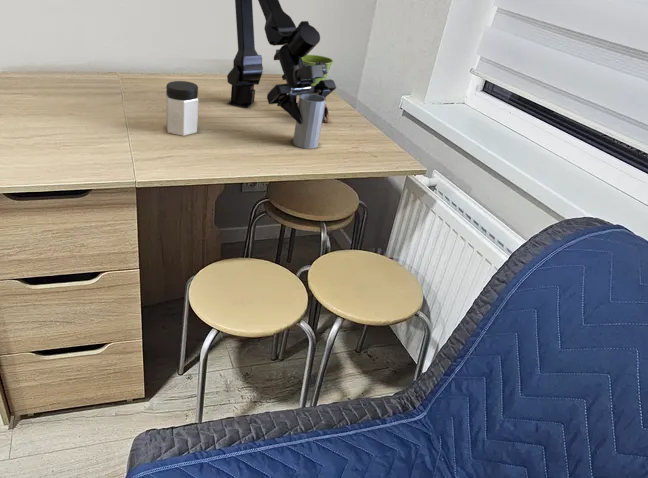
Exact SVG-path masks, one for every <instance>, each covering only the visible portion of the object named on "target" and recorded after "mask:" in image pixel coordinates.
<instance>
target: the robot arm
mask: <svg viewBox="0 0 648 478" xmlns="http://www.w3.org/2000/svg"><path fill="white" fill-rule="evenodd" d="M257 1H258V4H259V6H260V8H261V11H262V13H263V17H264V19H265V24H264V32H265V37H266V39H267V40H266V41H267V42H268V44H269V45H270V46H274V47H276V46H281V47H280V48H279V49H278V48H277V49H276V50H275V53H274V56H273V61H279V64H280V66H281V70H282V72H283V74H282V75H281V79H282V81H286V83H280V84H275V85H274V87H273V88H271V90H269V91H268V92H267V94H266V100H267V102H268V105H276V106H277V107H279V108H281V109H283V110H284V111H285V112H286V113H287V114H288V115H290V116H291V118H292V119H294V120H295V122H296V121H297V122H298V123H299V124H301V123H302V117H301V114H300V111H299V108H298V105H297V102H298V101H297V100H298V99H297V98H298V97H297V96H300V95H301V94H316V95H320V96H323V97H324V98H325V99H326V98H327V97H328V96H329V95H330V94H331V93H333V92H334V91H335V90H336V89H337V86H336V85H337V84H336V82H335V81H334V80H333V79H331V78H330V79H326V80H321V81H320V82H319V83H317V84H316V85H315V86H311V84H313V83H314V82H316V80H315V79H317V78H323V77H324V76H323V75H324V74H327V72H328V73H329V71H328V69H327V65H326V63H325V61H323V62H319V63H316V65H311V66H309V65H308V64H304V63H303V60H302V57H305V56H306V55H309V53H310V52H311V51H312V50H313V49H314V48H315V47H316V46H318V44H319V43H320V40H321V34H320V32H319V31H318V30H317V28H315V27H314V26H312V25H311V24H310V23H309V21H308V20H301V21H300V22H299V24H298V26H296V24H295V22H294V20H293V18H292V17H291V16H290V15H289V14H288V13H286V12H285V11H284V10H283V7H282V5H281V3H280V0H257ZM234 7H235V19H236V20H235V21H236V22H235V23H236V37H237V52H236V54H235V56H234V58H233V61H232V63H233V67H232V69H231V70H230V71H229V72H228V74H227V75H226V79H227V83H228V84H229V85H231V90H230V100H229V101H228V102H227V104H228V105H233V106H236V107H242V108H246V109H247V108H249V107H251V106H252V105H253V104H254V103H255V102H256V101H255V98H256V97H255V96H256V89H255V85H256V86H257V85H259V84H260V81H261V78H262V76H263V72H264V71H263V70H264V67H263V56H262V55H261V54H259V53H258V52H257V50H256V47H255V46H256V45H255V28H254V27H255V25H254V6H253V0H234ZM327 75H328V74H327ZM326 100H327V99H326ZM325 119H326V118H325V108H324V114H323V119H322V122H323V121H325Z"/></svg>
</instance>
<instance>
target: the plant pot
mask: <svg viewBox="0 0 648 478" xmlns="http://www.w3.org/2000/svg"><path fill="white" fill-rule="evenodd" d="M302 60H303V63H304V64H308V65H309V66H311V65H316V63H319V62H323V61H325V63H326V65H327V69H328V72H327V74H324V75H323V76H324V77H323V78H317V79H315V80H316V82H314V83H313V84H311V86H315V85H316V84H317V83H319V82H320V81H321V80H327V76H328V74H329V71H330V69H331V66H332V64H333V63H334V60H333V59H332V58H330V57H328V56H323V55H319V54H316V55H315V54H307V55H306V56H305V57H302Z"/></svg>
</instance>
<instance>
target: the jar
mask: <svg viewBox="0 0 648 478" xmlns="http://www.w3.org/2000/svg"><path fill="white" fill-rule="evenodd" d="M198 96H199V85H197V84H196V83H194V82H191V81H186V80H174V81H169V82H168V83H167V84H166V92H165V127H166V131H167V133H168V134H172V135H177V136H183V137H185V136H189V135H193V134H196V133H198V120H199V119H198V116H199V115H198V114H199V97H198Z"/></svg>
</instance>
